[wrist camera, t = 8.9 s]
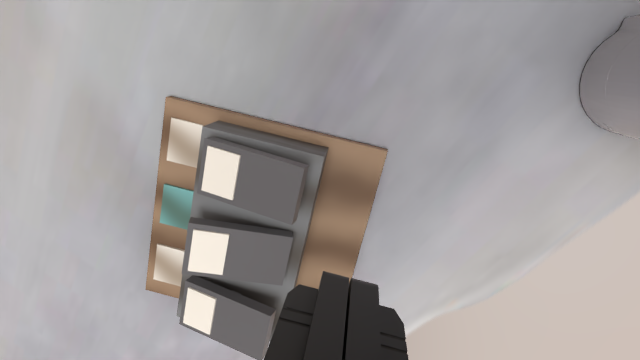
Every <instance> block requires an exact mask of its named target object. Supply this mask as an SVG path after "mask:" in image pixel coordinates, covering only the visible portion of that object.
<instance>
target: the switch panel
mask: <svg viewBox="0 0 640 360" xmlns="http://www.w3.org/2000/svg"><path fill="white" fill-rule="evenodd" d="M211 136H213V137H216V138H220V139H223V140H226V141H230V142H233V143H236V144H240V145H243V146H246V147H250V148H253V149H256V150H260V151H263V152H266V153H270V154H273V155H276V156H280V157H283V158H286V159H290V160H293V161H296V162H300V163H303V164H306V165H309V168H308V172H307V177H306V181H305V186H304V190H303V194H302V199H301V203H300V208H299V212H298V217H297V221H296V222H295V223H294V224H292V225H290V224H287V223H284V222H281V221H278V220H275V219H272V218H269V217H266V216H263V215H260V214H257V213H254V212H251V211H248V210H245V209H242V208H239V207H236V206H233V205H230V204H228V203H225V202H222V201H219V200H216V199H213V198H210V197H207V196H204V195H201V194H198V193H197V188H198V181H199V174H200V166H201V159H202V152H203V145H204V138H207V137H211ZM387 152H388V151H387V149H384V148H380V147H376V146H372V145H368V144H364V143H360V142H355V141H351V140H347V139H343V138H339V137H335V136H331V135H327V134H323V133H319V132H315V131H311V130H307V129H303V128H298V127H294V126H290V125H286V124H282V123H278V122H274V121H270V120H266V119H262V118H258V117H254V116H250V115H245V114H241V113H237V112H233V111H229V110H225V109H221V108H217V107H213V106H209V105H205V104H201V103H197V102H192V101H188V100H184V99H180V98H176V97H172V96H169V97H166V101H165V111H164V120H163V130H162V139H161V149H160V158H159V167H158V177H157V186H156V196H155V205H154V215H153V224H152V234H151V243H150V253H149V262H148V272H147V281H146V290H149V291H153V292H157V293H161V294H164V295H168V296H172V297H175V298H179V302H178V310H177V316H178V317H180V316H181V309H182V302H183V295H184V287H185V280H187V279H188V278H189V277H191V276H192V275H186V274H181V273H182V266H183V259H184V251H185V244H186V236H187V229H188V222H189V220H190V218H191V217H195V218H202V219H209V220H216V221H223V222H230V223H237V224H243V225H250V226H257V227H264V228H271V229H278V230H285V231H292V233H293V240H292V245H291V249H290V254H289V258H288V263H287V267H286V272H285V276H284V280H283V285H282V286H281V285H272V284H264V283H255V282H247V281H238V280H229V279H221V278H212V277H204V276H197V277H200V278H202V279H205V280H207V281H209V282H212V283H214V284H217V285H219V286H221V287H224V288H226V289H229V290H231V291H232V290H233V291H236V292H238V293H241V295H243V296H245V297H248V298H250V299H253V300H255V301H257V302H260V303H262V304H265V305H267V306H269V307H272V308H274V309H276V313H275V318H274V322H273V327H272V331H271V336H270V340H269V341H271V338H272V335H273V333H274V330H275V327H276V324H277V321H278V319H279V316H280V313H281V310H282V308H283V305H284V302H285V299H286V296H287V293H288V292H290V291H291V290H292V289H294V288H295V287H296V286H297V285H299V284H301V285H305V286H308V287H312V288H316V289H318V288H319V284H320V280H321V277H322V273H323V271H326V272H330V273H333V274H337V275H341V276H345V277H349V282H350V279H351V278H352V275H353V272H354V268H355V265H356V261H357V257H358V254H359V250H360V247H361V243H362V240H363V236H364V233H365V229H366V226H367V222H368V219H369V215H370V212H371V208H372V205H373V201H374V198H375V194H376V191H377V187H378V184H379V180H380V176H381V173H382V169H383V166H384V162H385V159H386V155H387Z"/></svg>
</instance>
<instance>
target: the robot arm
mask: <svg viewBox="0 0 640 360" xmlns="http://www.w3.org/2000/svg"><path fill="white" fill-rule="evenodd" d="M580 98H581V102H582V105H583V108H584V110H585V111H586V113H587V115H588V116H589V117H590V118H591V120H592V121H593V122H594V123H595V124H597V125H599V126H600V127H602V128H603V129H606V130H609V131H611V132H614V133H618V134H620V135H623V136H627V137H631V138H636V139H640V15H637V16H632V17H627V18H625V19H624V21H623V23H622V25H621V27H620V29H619V30H618V31H617V32H616V33H615V34H614V35H612V36H611V37H610V38H608V39H607V40H605V41H604V42H603V43H602V44H601V45H600V46H599V47H598V48H597V49H596V50H595V51H594V53H593V54H592V56H591V57H590V59H589V60H588V62H587V63H586V66H585V68H584V71H583V73H582V77H581V82H580ZM405 339H406V338H405V331H404V324H403V322H402V321H401V319H400V318H399V316H398V314H397V313H396V311H395V310H394V309H392V308H388V307H384V306H381V305H379V291H378V285H376V284H372V283H368V282H364V281H361V280H357V279H353V278H351V279H350V282H349V277H345V276H341V275H337V274H333V273H330V272H326V271H323V273H322V277H321V280H320V284H319V288H318V289H316V288H312V287H308V286H305V285H301V284H299V285H297V286H296V287H295V288H294V289H292V290H291V291H290V292H288V293H287V296H286V299H285V302H284V305H283V308H282V310H281V313H280V316H279V319H278V321H277V324H276V327H275V330H274V333H273V335H272V338H271V341H270V344H269V347H268V350H267V352H266V355H265V358H264V360H408V355H407V346H406V342H405Z"/></svg>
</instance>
